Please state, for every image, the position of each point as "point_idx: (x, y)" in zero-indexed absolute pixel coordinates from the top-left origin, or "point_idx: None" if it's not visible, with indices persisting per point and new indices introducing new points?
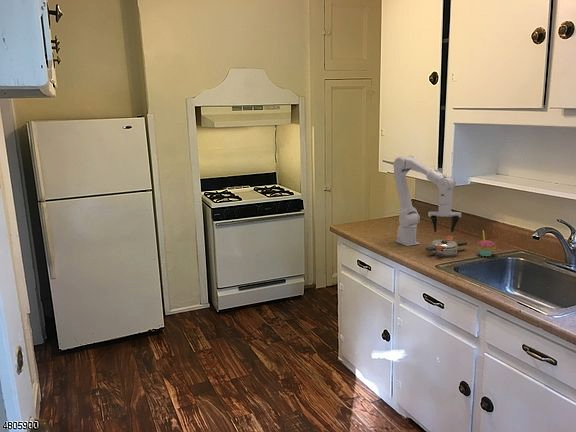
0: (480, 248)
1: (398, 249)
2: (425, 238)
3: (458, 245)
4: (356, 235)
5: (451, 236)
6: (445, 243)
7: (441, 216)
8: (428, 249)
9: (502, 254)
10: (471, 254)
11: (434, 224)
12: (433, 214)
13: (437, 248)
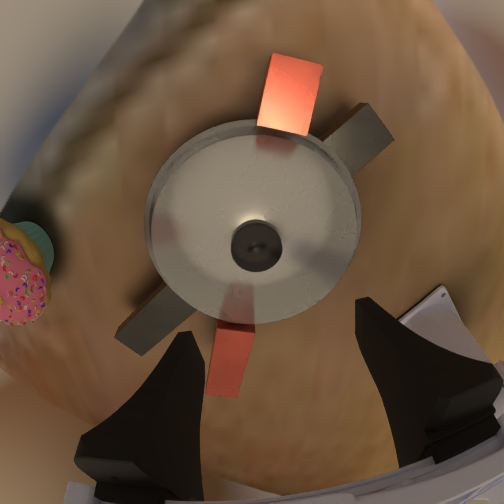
0: (16, 228)
1: (483, 223)
2: (335, 407)
3: (156, 291)
4: None
5: (213, 386)
6: (244, 222)
7: (350, 483)
8: (373, 113)
9: None
10: (88, 239)
11: (418, 341)
12: (493, 454)
13: (311, 63)
